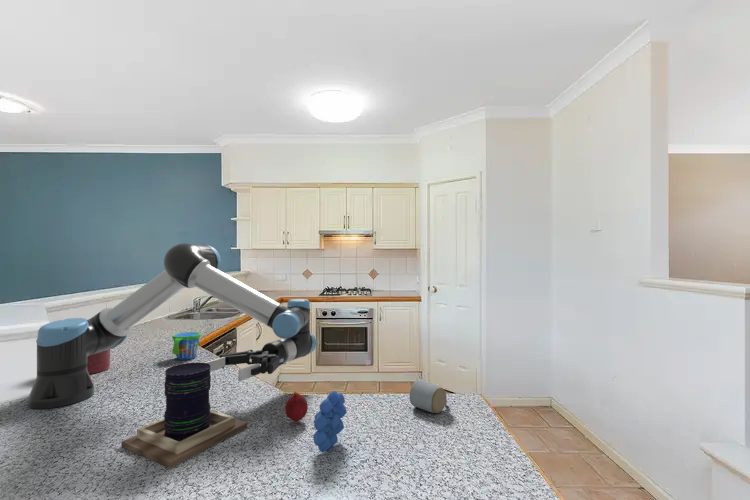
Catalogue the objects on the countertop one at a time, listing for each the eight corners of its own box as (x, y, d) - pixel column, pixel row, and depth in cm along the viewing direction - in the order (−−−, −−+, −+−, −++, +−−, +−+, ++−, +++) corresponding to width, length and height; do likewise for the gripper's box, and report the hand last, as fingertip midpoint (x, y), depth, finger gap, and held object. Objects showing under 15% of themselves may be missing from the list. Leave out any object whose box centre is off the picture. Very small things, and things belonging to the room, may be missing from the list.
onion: (311, 418, 96) (311, 388, 96) (300, 428, 90) (300, 396, 90) (292, 415, 97) (292, 386, 98) (280, 425, 92) (280, 393, 92)
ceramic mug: (433, 418, 96) (433, 389, 96) (408, 409, 101) (409, 381, 101) (454, 407, 103) (454, 379, 104) (430, 399, 109) (430, 373, 109)
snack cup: (188, 352, 163) (188, 330, 163) (209, 353, 161) (209, 330, 161) (161, 362, 147) (162, 337, 147) (184, 364, 145) (184, 338, 145)
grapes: (328, 431, 89) (328, 382, 89) (352, 437, 86) (352, 386, 86) (299, 454, 78) (299, 399, 78) (325, 462, 75) (325, 404, 76)
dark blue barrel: (162, 445, 80) (163, 377, 80) (164, 427, 89) (165, 365, 89) (211, 435, 84) (212, 371, 85) (209, 418, 93) (210, 360, 93)
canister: (116, 369, 139) (117, 323, 139) (75, 378, 128) (75, 328, 128) (102, 363, 146) (102, 319, 146) (61, 372, 135) (62, 325, 135)
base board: (121, 446, 82) (121, 432, 82) (200, 412, 99) (200, 401, 99) (170, 468, 73) (170, 452, 73) (247, 427, 91) (247, 414, 91)
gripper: (310, 370, 108) (255, 394, 89) (249, 359, 119) (190, 378, 101) (310, 345, 108) (255, 363, 89) (249, 336, 120) (190, 351, 101)
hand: (221, 371), depth 95 cm, fingers open, 13 cm apart
